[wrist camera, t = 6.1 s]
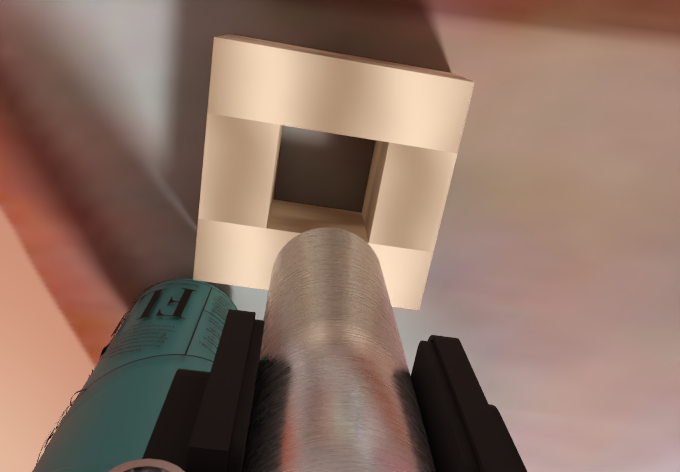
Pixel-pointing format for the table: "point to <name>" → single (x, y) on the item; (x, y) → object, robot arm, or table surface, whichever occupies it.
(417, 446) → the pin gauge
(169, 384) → the beverage bottle
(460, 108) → the bore block
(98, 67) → the table surface
